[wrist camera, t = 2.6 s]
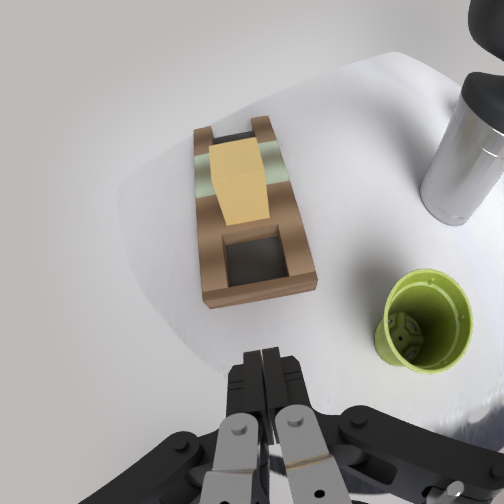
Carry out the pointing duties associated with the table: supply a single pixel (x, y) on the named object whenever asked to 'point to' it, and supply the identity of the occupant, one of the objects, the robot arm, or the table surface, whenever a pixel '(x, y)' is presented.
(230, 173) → the ochre block
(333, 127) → the table surface
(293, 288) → the box
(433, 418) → the table surface
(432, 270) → the plant pot
